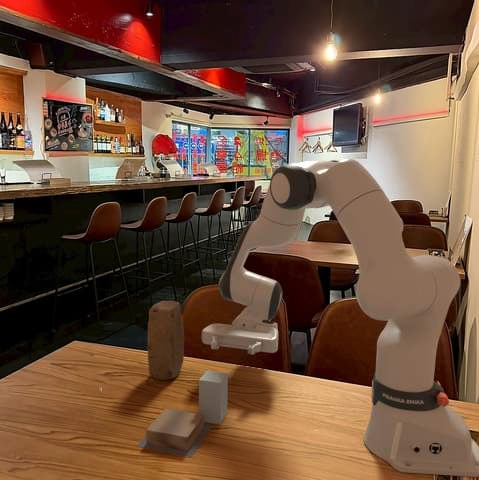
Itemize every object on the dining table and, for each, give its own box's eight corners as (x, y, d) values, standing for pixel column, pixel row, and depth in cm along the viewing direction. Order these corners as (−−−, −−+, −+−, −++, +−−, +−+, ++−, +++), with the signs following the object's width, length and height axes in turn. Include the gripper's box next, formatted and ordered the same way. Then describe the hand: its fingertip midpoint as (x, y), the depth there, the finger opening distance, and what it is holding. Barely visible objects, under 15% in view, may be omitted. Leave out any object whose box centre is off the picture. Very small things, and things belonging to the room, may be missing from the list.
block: (171, 383, 123) (170, 310, 120) (145, 379, 125) (143, 307, 122) (187, 367, 133) (187, 299, 130) (163, 363, 136) (162, 296, 133)
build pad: (212, 426, 103) (212, 425, 103) (191, 458, 91) (191, 457, 91) (162, 418, 106) (162, 416, 106) (136, 448, 95) (136, 446, 95)
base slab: (203, 427, 102) (203, 414, 101) (187, 451, 93) (187, 437, 93) (165, 421, 104) (165, 408, 104) (146, 443, 96) (146, 429, 95)
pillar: (227, 414, 108) (227, 373, 106) (220, 425, 103) (220, 382, 102) (206, 411, 109) (206, 370, 108) (199, 422, 105) (199, 379, 103)
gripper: (211, 315, 132) (192, 331, 118) (283, 323, 126) (272, 342, 113) (210, 336, 133) (192, 355, 120) (282, 345, 127) (271, 366, 114)
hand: (231, 349), depth 116 cm, fingers open, 8 cm apart
